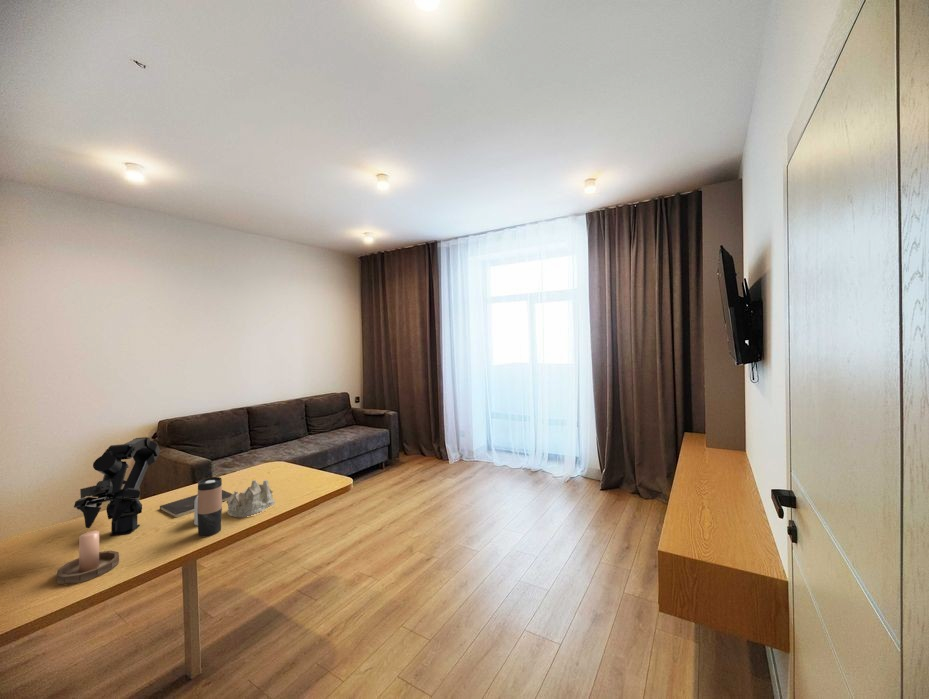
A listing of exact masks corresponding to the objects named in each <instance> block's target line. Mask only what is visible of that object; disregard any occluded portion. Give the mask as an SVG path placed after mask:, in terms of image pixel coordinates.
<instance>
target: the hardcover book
mask: <svg viewBox="0 0 929 699" xmlns="http://www.w3.org/2000/svg"><path fill="white" fill-rule="evenodd" d="M232 494H233V493H231V492H228V491H226V490H223V489H222V503H224V502H227V501H228V499H229V498H230V496H231V495H232ZM197 496H198V493H197V494H195V495H192V496H191V495H190V496H188V497H184V498H182V499H178V500H175V501H172V502H168V503H165V504H161V505H159V510H162V511H163V512H165V513H167V514H169V515H170V516H173V517H174V518H179V517H182V516H185V515H188V514H191V513H194V507H195V499H196V497H197ZM226 500H227V501H226ZM223 501H224V502H223Z"/></svg>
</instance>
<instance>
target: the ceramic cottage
mask: <svg viewBox="0 0 929 699" xmlns="http://www.w3.org/2000/svg"><path fill="white" fill-rule="evenodd" d="M273 492H274V491H272V490H271V488H270V485H269V479H264V480H263V482H262V484H261V483H258V481H257V480H256V479H252V481H251V485H250V486H249V487H247V488H246V489H245V490H243V491H242V492H239V493H238V491H237V490H235V491H234V493H231V494H232V495H231V496H230V498H229V499H228V500H227V501H226V504H227V512H226V514H227V515H229V514H230V515H229V516H231V517H232V516H234V517H233V518H248V517H247V516H251V515H254V514H257V513H260V512H262V511H263V510H265V509H266V508H268V507H270V506H272V505H274V504H276V501H275V499H274V498H273Z"/></svg>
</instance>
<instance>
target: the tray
mask: <svg viewBox="0 0 929 699" xmlns="http://www.w3.org/2000/svg"><path fill="white" fill-rule="evenodd" d="M119 562H120V552H119V551H115V550H104V551H99V567H98V568H96V569H93V570H90V571H87V572H83V573H80V572H79V557H78V558H75V559H73V560H71V561H69V562H67V563H65V564H64V565H62V566H61V567H59V568H58V569H57V570H56V574H55V575H56V577H55V580H56V583H57V584H58V585H64V584H67V585H74V584H79V583H83V582H87V581H90V580H93V579H95V578H98V577H101V576H103V575H104V574H106V573H108V572H110V571H112V570H114V568H116V567H117V566H118V565H119Z"/></svg>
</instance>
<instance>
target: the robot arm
mask: <svg viewBox="0 0 929 699" xmlns="http://www.w3.org/2000/svg"><path fill="white" fill-rule="evenodd" d="M160 453H161V449H160V446H159V444H158V443H156V442H154V441H152V440H151V437H147V436H145V437H136V438H133V439H132V440H130V441H128V442H126V443H123V444H122V443H121V444H111V445H109V447H108V448H107V449H105V451H104V452H103V453H102V455H101V456H98V457H97V458H96V459H95V460H94V461H93V464H92V467H93V469H94V470H95V471H97V472H99V473H100V474H102V475H103V476H102V477H103V478H102V480H100V481H97V483H96V485H91V486H88V487H83V488H80V489H79V492H80V498H79V499H77V500H76V501H75V502H74V505H73V508H74V509H77V510H79V511H81V512H82V514H83V517H84V525H85V528H86V529H90V528H91V527H92V526H93V524H94V522H95V520H96V518H97V517H98V515H99V513H100V510H101V509H102V507H101V505H102V504H103V503H107V502H108V504H107V506H106V514H107V519H108V520H111V523H110V524H111V527H110V529H111V533H110V534H109V536H110V537H111V536H120V535H127V534H131V533H133V532H135V530H137V529H138V528H139V527H140V526H141V524H138V517H139V516H138V515H139V514H141V513H142V512H143V511H142V510H143V504H142V502H141V501H140V500H139V498H140V496H141V490H140V489H139V488H140V486H141V483H142V482H143V480H144V477H145V475H146V473H147V471H148V468H149V466H150V465H152V464H153V463H155V462H156V461H157V459H158V457H159V455H161V454H160ZM132 458H133V462H134V464H133V465H132V468H131V470H130V472H129V474H128V476H127V478H126V474H127V471H128V469H129V464H128V463H127V461H126V460H132ZM125 478H126V480H125Z"/></svg>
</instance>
